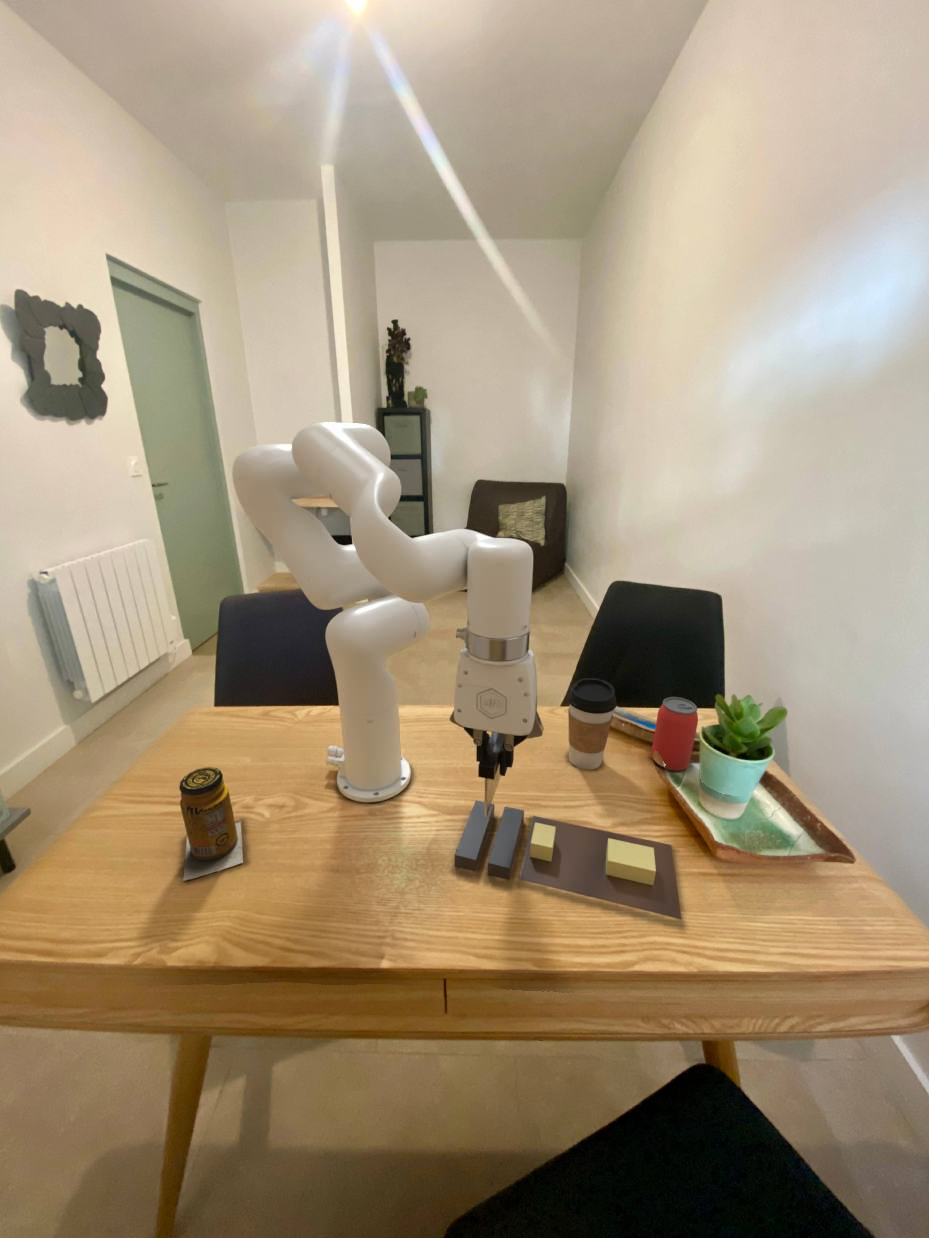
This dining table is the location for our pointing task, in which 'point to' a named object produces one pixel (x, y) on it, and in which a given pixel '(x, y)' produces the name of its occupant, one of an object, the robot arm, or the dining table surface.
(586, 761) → the coffee cup
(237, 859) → the condiment
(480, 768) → the cleaver
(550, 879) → the board
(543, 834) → the butter slice
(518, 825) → the stand
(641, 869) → the butter
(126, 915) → the dining table surface
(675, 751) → the beer can
